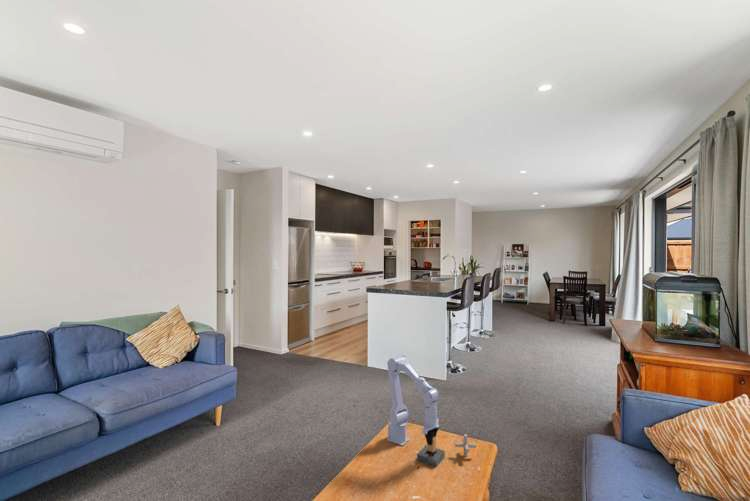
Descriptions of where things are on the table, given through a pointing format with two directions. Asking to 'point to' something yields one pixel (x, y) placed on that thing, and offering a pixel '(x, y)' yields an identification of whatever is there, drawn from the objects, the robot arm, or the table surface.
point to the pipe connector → (465, 445)
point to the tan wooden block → (433, 446)
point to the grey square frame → (431, 456)
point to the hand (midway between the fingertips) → (431, 442)
